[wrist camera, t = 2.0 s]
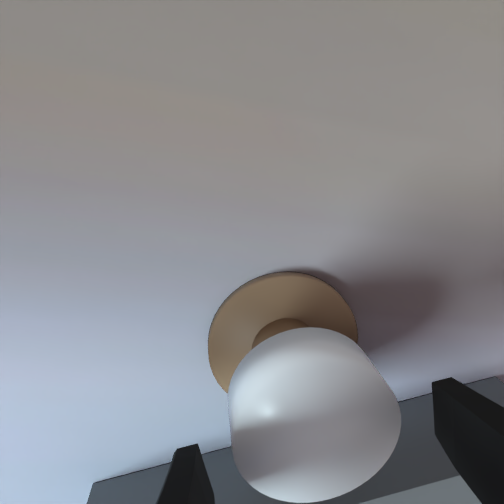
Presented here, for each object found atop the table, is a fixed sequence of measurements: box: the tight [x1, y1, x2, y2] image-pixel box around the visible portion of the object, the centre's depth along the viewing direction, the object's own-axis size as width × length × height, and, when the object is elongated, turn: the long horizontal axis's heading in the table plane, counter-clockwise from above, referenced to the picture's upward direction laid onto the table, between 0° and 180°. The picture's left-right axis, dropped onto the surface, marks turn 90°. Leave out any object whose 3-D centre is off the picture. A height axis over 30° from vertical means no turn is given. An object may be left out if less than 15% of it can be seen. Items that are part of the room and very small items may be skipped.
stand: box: [208, 272, 358, 393], centre depth 15 cm, size 6×6×4 cm
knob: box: [228, 327, 401, 503], centre depth 12 cm, size 5×5×2 cm
